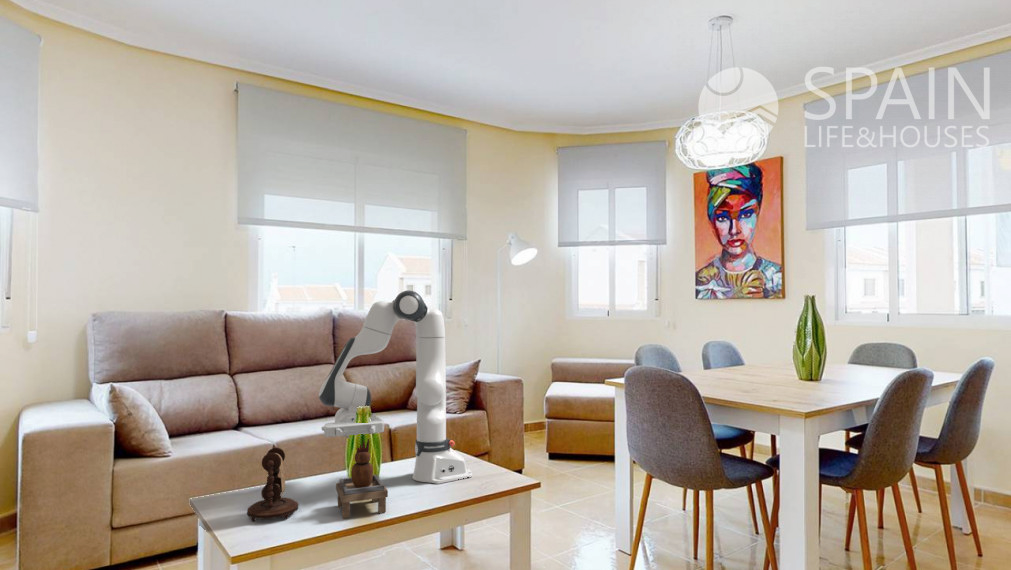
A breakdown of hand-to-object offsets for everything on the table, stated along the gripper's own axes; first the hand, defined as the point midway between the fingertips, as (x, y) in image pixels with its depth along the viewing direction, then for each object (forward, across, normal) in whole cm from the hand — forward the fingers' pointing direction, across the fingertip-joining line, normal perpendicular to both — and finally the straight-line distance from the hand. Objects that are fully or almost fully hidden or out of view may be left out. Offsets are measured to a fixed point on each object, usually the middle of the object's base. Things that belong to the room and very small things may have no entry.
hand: (357, 432), depth 192 cm
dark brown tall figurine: (+2, -26, +23) cm, 35 cm away
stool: (+8, 0, +22) cm, 24 cm away
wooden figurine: (+8, 0, +16) cm, 18 cm away
